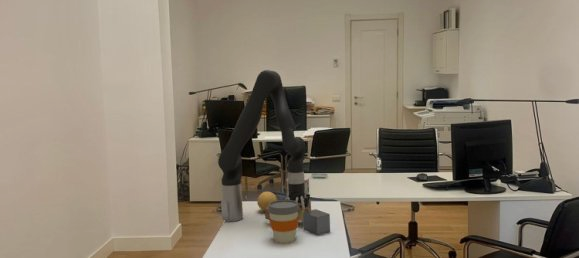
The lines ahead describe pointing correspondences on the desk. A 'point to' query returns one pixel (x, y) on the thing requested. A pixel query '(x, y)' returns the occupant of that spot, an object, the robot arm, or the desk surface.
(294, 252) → the desk surface
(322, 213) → the grey sleeve
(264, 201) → the stress ball
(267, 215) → the walnut block
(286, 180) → the candy bar box
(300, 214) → the brass bar
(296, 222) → the reusable coffee cup
